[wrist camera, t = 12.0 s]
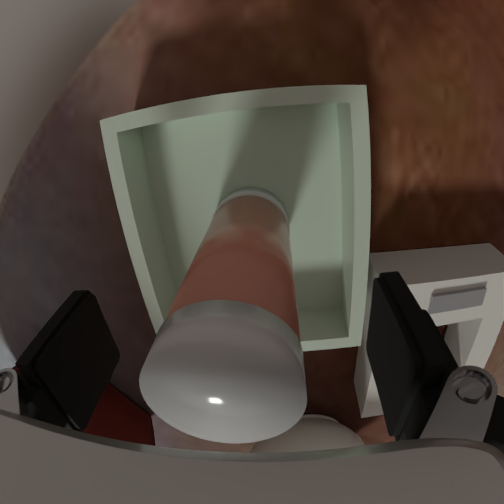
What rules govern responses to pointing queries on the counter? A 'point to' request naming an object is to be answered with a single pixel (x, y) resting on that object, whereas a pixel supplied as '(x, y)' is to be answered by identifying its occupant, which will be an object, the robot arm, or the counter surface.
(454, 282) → the block
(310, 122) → the parts tray
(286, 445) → the lidded bowl
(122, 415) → the plant pot
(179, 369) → the cylinder
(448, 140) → the counter surface
